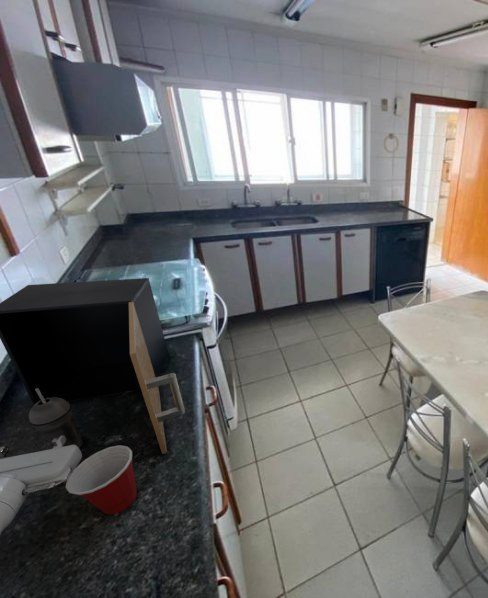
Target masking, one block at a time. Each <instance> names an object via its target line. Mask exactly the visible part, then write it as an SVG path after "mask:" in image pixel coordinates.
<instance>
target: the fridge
mask: <svg viewBox="0 0 488 598" xmlns="http://www.w3.org/2000/svg"><path fill="white" fill-rule="evenodd" d="M129 302H133V303H134V307H135V310H136V313H137V317H138V320H139V323H140V327H141V330H142V334H143V337H144V340H145V344H146V347H147V350H148V354H149V357H150V361H151V364H152V367H153V371H154V374H155V377H156V378H157V377H160V376H163V375H162V374H163V372H164V370H165V366H166V364H167V361H168V360H169V357H170V352H169V349H168V346H167V342H166V338H165V334H164V330H163V327H162V323H161V320H160V315H159V312H158V308H157V305H156V304H157V303H156V301H155V297H154V293H153V289H152V286H151V282H150V278H149V277H142V278H123V279H107V280H106V279H105V280H90V281H89V280H87V281H72V282H56V283H55V282H54V283H39V284H27V285H26V286H24V287H23V288H21V289H20V290H18V291H17V292H15V293H13V294H12V295H10V296H9V297H7V298H5V299H4V300H3V301H1V302H0V342H1V343H2V346H3V347H4V349H5V351H6V353H7V355H8V357H9V359H10V361H11V362H12V365H13V367H14V368H15V370H16V372H17V375H18V376H19V379H20V381H21V382H22V385H23V386H24V388H25V390H26V392H27V394H28V396H29V398H30V400H31V402H32V404H33V406H34V405H35V404H36V403H37V402H39V401H41V399H40V397H39V395H38V394H37V392H36V390H35V389H36V388H38V389H39V391H40V392H41V394H42V396H43V397H44V399H46V398H51V397H57V398H61V399H64V400H65V401H67V402H68V403H69V404H74V403H79V402H85V401H89V400H94V399H100V398H104V397H109V396H115V395H119V394H125V393H130V392H135V391H137V389H138V388H137V381H136V372H135V369H134V366H133V363H132V360H131V357H130V341H129Z"/></svg>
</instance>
